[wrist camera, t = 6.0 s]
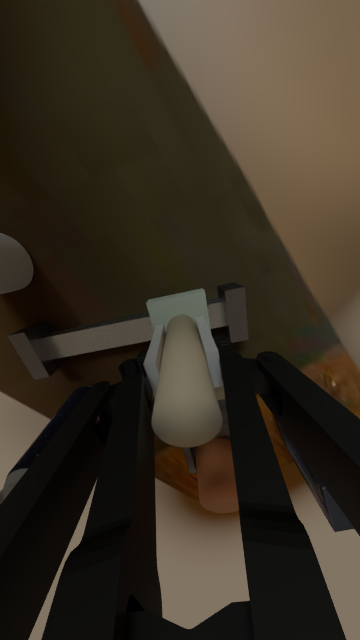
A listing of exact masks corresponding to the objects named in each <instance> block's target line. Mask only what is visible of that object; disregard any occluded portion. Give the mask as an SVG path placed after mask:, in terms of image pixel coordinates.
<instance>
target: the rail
mask: <svg viewBox="0 0 360 640" xmlns="http://www.w3.org/2000/svg"><path fill="white" fill-rule="evenodd" d="M217 288H218V295H219V298H216V299H211V300H206V302H207V309H208V315H209V322H210V328H211V329H213V328H218V327H223V331H224V333H225V334H226V336H227V338H228V339H229V341H230V342H231V343H233V342H239V341H244V340H249V338H248V324H247V311H246V298H245V287H244V286H241V285H239V284H236V283H229V284H224V285H219V286H217ZM153 334H154V329H153V326H152V322H151V319H150V315H149V312H147V313H142V314H137V315H132V316H127V317H123V318H118V319H113V320H108V321H103V322H98V323H93V324H88V325H83V326H78V327H74V328H69V329H64V330H59V331H54V332H53V331H52V329H51V327H50V325H49V323H48V321H46V322H42V323H37V324H33V325H30V326H28V327H26V328H24V329H21V330H19V331H17V332H15V333H12V334H10V335H8V338H9V340H10V341H11V343H12V345H13V346H14V348H15V349H16V351H17V353H18V354H19V356H20V357H21V359H22V361H23V362H24V364H25V365H26V367H27V369H28V370H29V372H30V374H31V375H32V377H33V378H34V380H35V379H40V378H46V377H50V376H51V375H52V374H53V373H54V372H55V371H56V370H58V369H59V368H60V367H61V366H62V365H63V364H64V363H65V362H66V361H67V358H66V357H68V356H73V355H78V354H83V353H88V352H93V351H99V350H104V349H109V348H114V347H119V346H125V345H130V344H135V343H140V342H145V341H150V340H152V337H153Z"/></svg>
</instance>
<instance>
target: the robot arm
mask: <svg viewBox="0 0 360 640" xmlns="http://www.w3.org/2000/svg"><path fill="white" fill-rule="evenodd" d="M196 323H197V328H198V332H199V336H200V339H201V343H202V346H203V350H204V354H205V357H206V361H207V364H208V368H209V372H210V375H211V379H212V382H213V386H214V388H215V387H221V386H223V385H224V393H225V401H226V409H227V417H228V425H229V433H230V441H231V449H232V457H233V465H234V473H235V481H236V489H237V497H238V505H239V515H240V524H241V533H242V541H243V549H244V557H245V565H246V573H247V581H248V589H249V598H250V601H243V602H233V603H230V604H229V605H227V606H226V607H224V608H223V609H221V610H220V611H218V612H217V613H215V614H214V615H212V616H211V617H209V618H208V619H206V620H205V621H203V622H202V623H200V624H199V625H197V626H196V627H194V628H192V629H185V628H183V627H181V626H179V625H176V624H174V623H172V622H170V621H168V620H166V619H164V618H162V601H161V589H160V582H159V576H158V570H157V558H156V513H155V512H156V511H155V464H154V431H153V428H152V423H151V422H152V414H153V401H152V398H151V396H152V392H153V395H154V398H155V396H156V390H157V384H158V378H159V372H160V367H161V361H162V355H163V349H164V343H165V337H166V331H165V327H164V324H161V325H156V328H155V331H154V334H153V337H152V340H151V343H150V346H149V349H148V350H143V351H141V352H140V353H139V354H138V356H137V358H136V359H129V360H126V361H124V362H123V363H121V364H120V365H119V367H118V369H119V371H120V374H121V376H122V381H121V382H119V383H117V384H114V385H112V386H110V383H109V382H107V381H103V382H99V383H97V384H95V385H94V386H92V387H91V388H90V389H89V390H88V392H87V393H86V394H85V396H84V397H83V398H82V399H81V401H80V402H79V403H78V405H77V406H76V407H75V409H74V410H73V411H72V412H71V414H70V415H69V416H68V418H67V419H66V420H65V422H64V423H63V424H62V425H61V427H60V428H59V429H58V431H57V432H56V433H55V434H54V436H53V437H52V438H51V440H50V441H49V442H48V444H47V445H46V446H45V447H44V449H43V450H42V451H41V453H40V454H39V455H38V456H37V458H36V459H35V460H34V462H33V463H32V464H31V466H30V467H29V468H28V469H27V471H26V472H25V473H24V475H23V476H22V477H21V479H20V480H19V481H18V482H17V484H16V485H15V486H14V488H13V489H12V490H11V491H10V493H9V494H8V495H7V497H6V498H5V499H4V501H3V502H2V503H1V504H0V640H28V639H29V637H30V634H31V632H32V629H33V627H34V625H35V623H36V620H37V618H38V616H39V613H40V611H41V609H42V606H43V604H44V601H45V599H46V596H47V594H48V592H49V590H50V587H51V585H52V583H53V580H54V578H55V576H56V573H57V571H58V568H59V566H60V564H61V562H62V559H63V557H64V555H65V552H66V550H67V548H68V545H69V543H70V540H71V538H72V536H73V534H74V531H75V529H76V527H77V524H78V522H79V520H80V517H81V515H82V513H83V510H84V508H85V505H86V503H87V501H88V499H89V496H90V494H91V491H92V489H93V487H94V484H95V482H96V480H97V483H96V487H95V491H94V495H93V499H92V503H91V507H90V511H89V515H88V519H87V523H86V527H85V531H84V535H83V537H82V540H81V542H80V544H79V546H77V547H76V548H75V549H74V550H73V551H72V552H71V553H70V554H69V556H68V558H67V560H66V562H65V564H64V567H63V569H62V572H61V575H60V578H59V581H58V585H57V588H56V591H55V595H54V599H53V602H52V605H51V609H50V612H49V616H48V619H47V622H46V626H45V630H44V633H43V637H42V640H346V638H345V635H344V632H343V629H342V626H341V624H340V621H339V618H338V615H337V613H336V610H335V607H334V604H333V601H332V599H331V596H330V593H329V590H328V588H327V585H326V582H325V579H324V576H323V574H322V571H321V568H320V565H319V563H318V560H317V557H316V554H315V552H314V549H313V546H312V544H311V541H310V539H309V536H308V534H307V532H306V530H305V527H304V525H303V524H302V523H301V521H300V520H299V519H298V517H297V515H296V513H295V510H294V508H293V504H292V501H291V499H290V496H289V493H288V490H287V487H286V484H285V481H284V478H283V475H282V472H281V469H280V466H279V463H278V460H277V457H276V454H275V452H274V449H273V446H272V443H271V440H270V437H269V434H268V431H267V428H266V425H265V422H264V419H263V416H262V413H261V410H260V407H259V404H258V402H257V399H256V396H255V393H257V394H259V395H260V397H261V398H262V399H263V401H264V402H265V404H266V405H267V406H268V408H269V409H270V411H271V412H272V413H273V415H274V416H275V418H276V419H277V420H278V422H279V423H280V425H281V426H282V428H283V429H284V430H285V432H286V433H287V435H288V436H289V437H290V439H291V440H292V442H293V443H294V444H295V446H296V447H297V449H298V450H299V451H300V453H301V454H302V456H303V457H304V458H305V460H306V461H307V463H308V464H309V465H310V467H311V468H312V470H313V471H314V472H315V474H316V475H317V477H318V478H319V479H320V481H321V482H322V484H323V485H324V486H325V488H326V489H327V491H328V492H329V493H330V495H331V496H332V498H333V499H334V501H335V502H336V503H337V505H338V506H339V508H340V509H341V510H342V512H343V513H344V515H345V516H346V517H347V519H348V520H349V522H350V523H351V524H352V526H353V527H354V529H355V530H356V531H357V533H358V534H359V536H360V419H359V418H358V417H357V416H355V415H354V414H353V413H352V412H350V411H349V410H348V409H347V408H345V407H344V406H343V405H342V404H340V403H339V402H338V401H337V400H335V399H334V398H333V397H332V396H330V395H329V394H328V393H327V392H325V391H324V390H323V389H322V388H320V387H319V386H318V385H317V384H316V383H314V382H313V381H312V380H311V379H309V378H308V377H307V376H306V375H304V374H303V373H302V372H301V371H299V370H298V369H297V368H296V367H294V366H293V365H292V364H291V363H289V362H288V361H287V360H286V359H284V358H283V357H282V356H281V355H279V354H277V353H274V352H269V351H266V352H261V353H259V354H258V355H257V359H248V358H243V357H242V355H241V354H239V353H238V352H236V351H235V350H234V348H233V347H232V345H231V344H230V342H229V340H228V339H227V337H225V336H223V335H219V336H214V337H212V335H211V333H210V331H209V328H208V326H207V324H206V322H205V319H204V317H203V316H201V317H196ZM97 417H98V418H99V420H98V422H97V423H95V421H96V419H97ZM97 477H98V478H97Z"/></svg>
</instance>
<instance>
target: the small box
mask: <svg viewBox="0 0 360 640" xmlns="http://www.w3.org/2000/svg"><path fill="white" fill-rule="evenodd" d="M276 420H277V419H276ZM277 422H278V420H277ZM278 425H279V428H280V431H281V434H282V437H283V440H284V442H285V445H286V447H287V449H288V451H289V453H290V455H291V456H292V458H293V460H294V462H295V464H296V465H297V467H298V469H299V471H300V472H301V474H302V476H303V478H304V480H305V481H306V483H307V485H308V487H309V488H310V490H311V492H312V493H313V496H314V497H315V499H316V501H317V503H318V504H319V506H320V508H321V509H322V511H323V513H324V515H325V516H326V518H327V520H328V522H329V523H330V525H331V527H332V528H333V530H334V531H335V532H337V531H343V530H349V529H354V527H353V526H352V524H351V523H350V522H349V520H348V519H347V517H346V516H345V515H344V513H343V512H342V510H341V509H340V508H339V506H338V505H337V503H336V502H335V501H334V499H333V498H332V496H331V495H330V493H329V492H328V491H327V489H326V488H325V486H324V485H323V484H322V482H321V481H320V479H319V478H318V477H317V475H316V474H315V472H314V471H313V470H312V468H311V467H310V465H309V464H308V463H307V461H306V460H305V458H304V457H303V456H302V454H301V453H300V451H299V450H298V449H297V447H296V446H295V444H294V443H293V442H292V440H291V439H290V437H289V436H288V435H287V433H286V432H285V430H284V429H283V428H282V426H281V425H280V423H279V422H278Z"/></svg>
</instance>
